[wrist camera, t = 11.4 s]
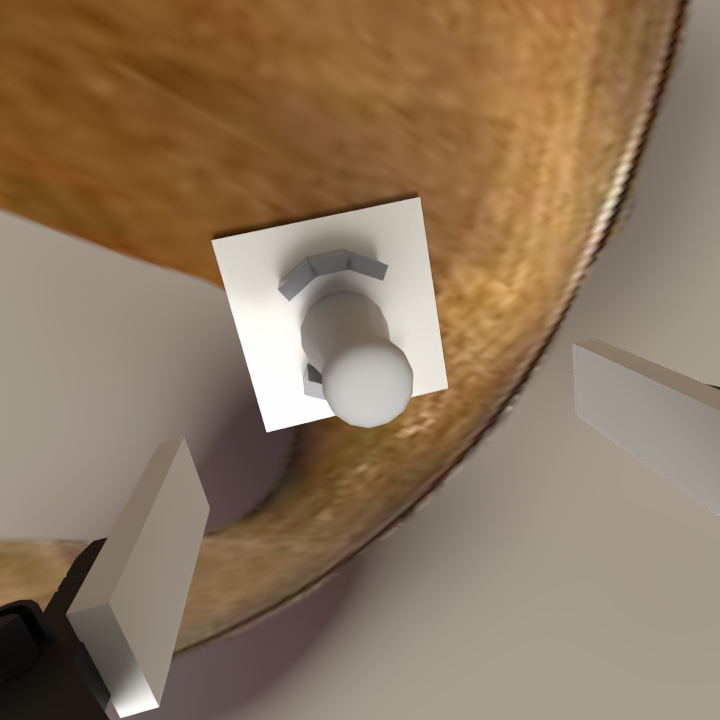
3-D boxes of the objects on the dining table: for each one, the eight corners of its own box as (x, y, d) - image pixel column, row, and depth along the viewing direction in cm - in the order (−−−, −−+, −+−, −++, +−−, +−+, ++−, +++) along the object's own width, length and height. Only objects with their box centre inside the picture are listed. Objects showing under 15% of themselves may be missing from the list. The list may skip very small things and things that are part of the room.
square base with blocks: (267, 427, 35) (264, 454, 31) (213, 239, 31) (201, 243, 27) (444, 384, 36) (464, 405, 32) (416, 197, 32) (435, 194, 28)
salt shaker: (359, 377, 34) (398, 467, 22) (286, 348, 33) (285, 425, 21) (394, 305, 33) (457, 357, 21) (320, 271, 32) (340, 305, 19)
